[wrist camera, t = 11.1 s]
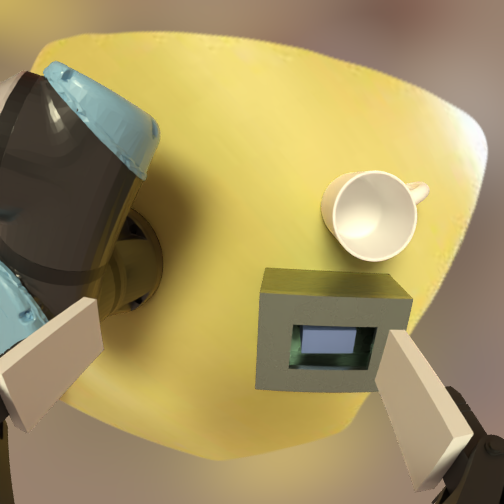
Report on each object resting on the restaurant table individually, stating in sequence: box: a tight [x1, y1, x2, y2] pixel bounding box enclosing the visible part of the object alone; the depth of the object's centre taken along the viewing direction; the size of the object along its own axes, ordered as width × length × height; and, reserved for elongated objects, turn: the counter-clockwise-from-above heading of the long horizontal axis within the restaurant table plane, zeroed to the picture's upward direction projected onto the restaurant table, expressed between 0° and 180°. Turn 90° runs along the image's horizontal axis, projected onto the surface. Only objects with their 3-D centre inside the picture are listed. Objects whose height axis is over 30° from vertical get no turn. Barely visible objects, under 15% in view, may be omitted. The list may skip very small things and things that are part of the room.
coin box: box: [255, 268, 413, 393], centre depth 35 cm, size 16×12×9 cm
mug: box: [321, 171, 429, 262], centre depth 31 cm, size 12×8×10 cm
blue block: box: [300, 325, 356, 353], centre depth 36 cm, size 6×3×6 cm, turn 90°
